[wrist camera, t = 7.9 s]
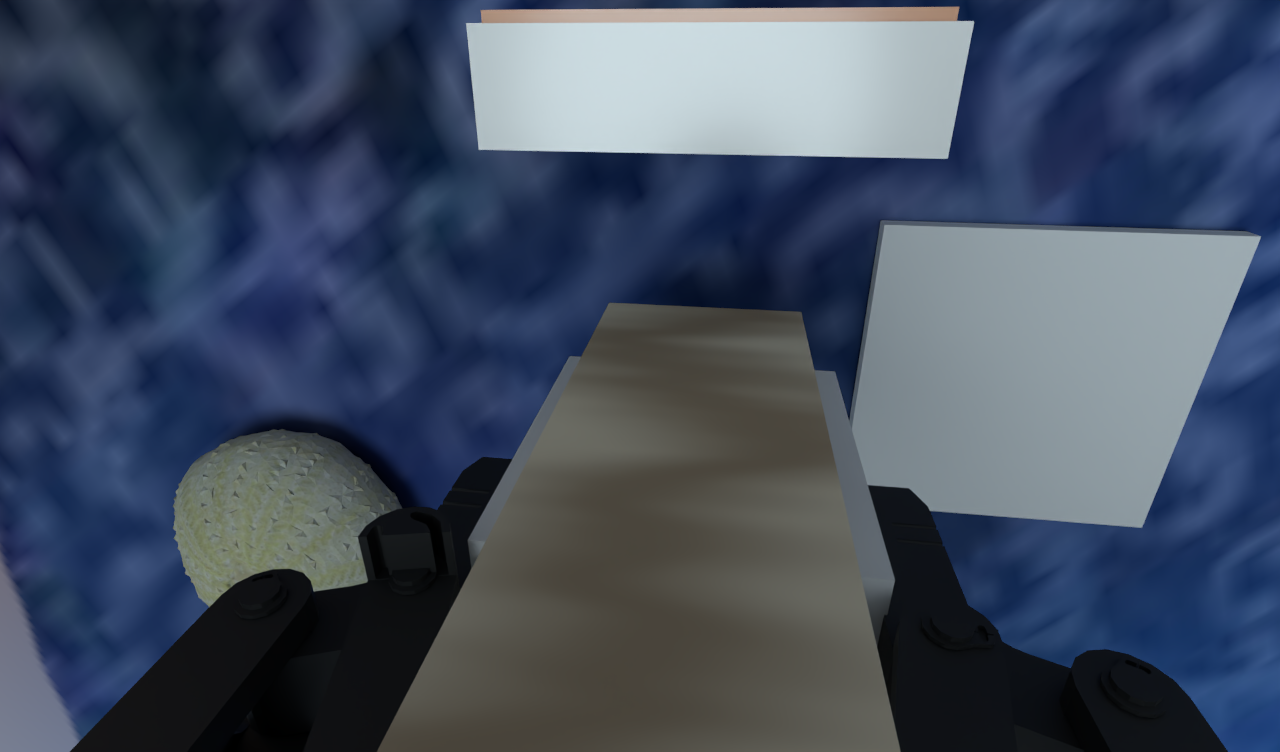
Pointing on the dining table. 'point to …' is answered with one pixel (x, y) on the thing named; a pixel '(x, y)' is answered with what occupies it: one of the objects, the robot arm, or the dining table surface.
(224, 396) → the dining table surface
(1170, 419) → the mat
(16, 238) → the dining table surface
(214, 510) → the sea urchin shell
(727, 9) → the tile
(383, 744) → the beige rectangular block
